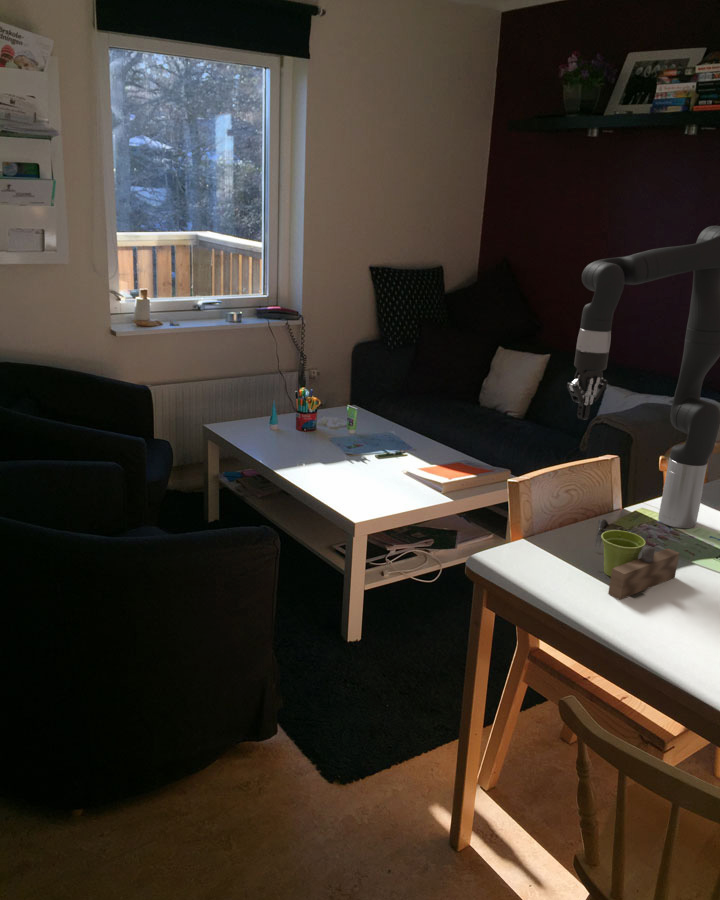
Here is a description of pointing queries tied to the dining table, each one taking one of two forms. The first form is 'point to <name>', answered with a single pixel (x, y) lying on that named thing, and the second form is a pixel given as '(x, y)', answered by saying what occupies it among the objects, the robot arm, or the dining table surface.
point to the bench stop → (643, 572)
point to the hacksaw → (601, 529)
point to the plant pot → (620, 548)
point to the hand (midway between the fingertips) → (582, 418)
